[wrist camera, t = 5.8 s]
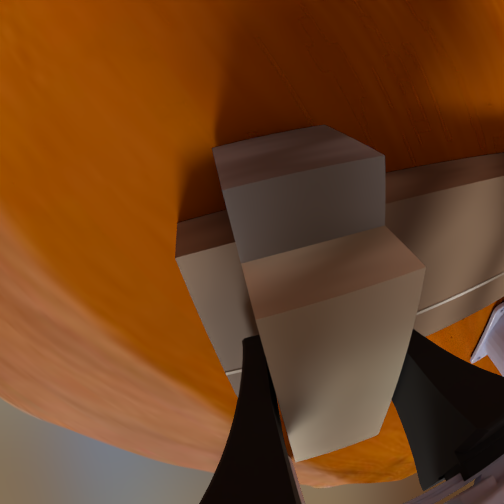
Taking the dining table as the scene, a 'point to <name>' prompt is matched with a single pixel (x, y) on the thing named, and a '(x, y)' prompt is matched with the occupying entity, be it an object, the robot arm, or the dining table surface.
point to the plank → (400, 224)
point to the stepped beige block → (322, 279)
